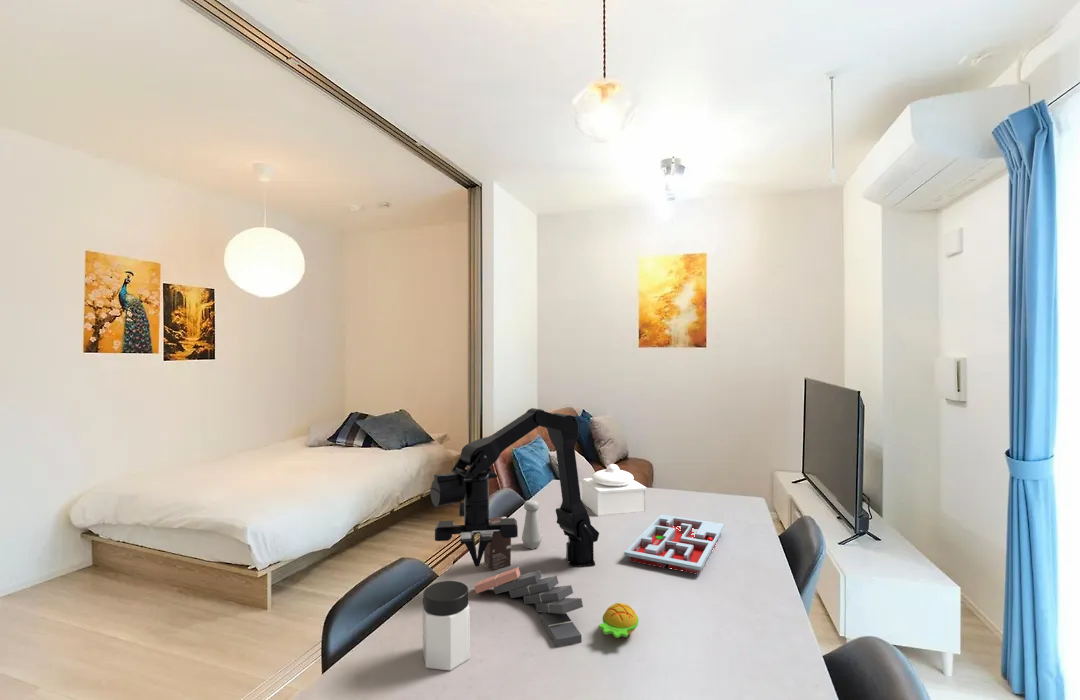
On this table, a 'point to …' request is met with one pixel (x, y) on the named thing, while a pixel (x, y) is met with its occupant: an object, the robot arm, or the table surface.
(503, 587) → the domino
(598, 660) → the table surface
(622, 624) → the toy burger bun
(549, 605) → the domino
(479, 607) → the table surface
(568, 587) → the domino
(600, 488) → the butter dish
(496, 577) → the domino
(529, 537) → the salt shaker
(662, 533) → the maze game
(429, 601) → the jar
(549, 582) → the domino
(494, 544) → the box
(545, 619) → the domino
